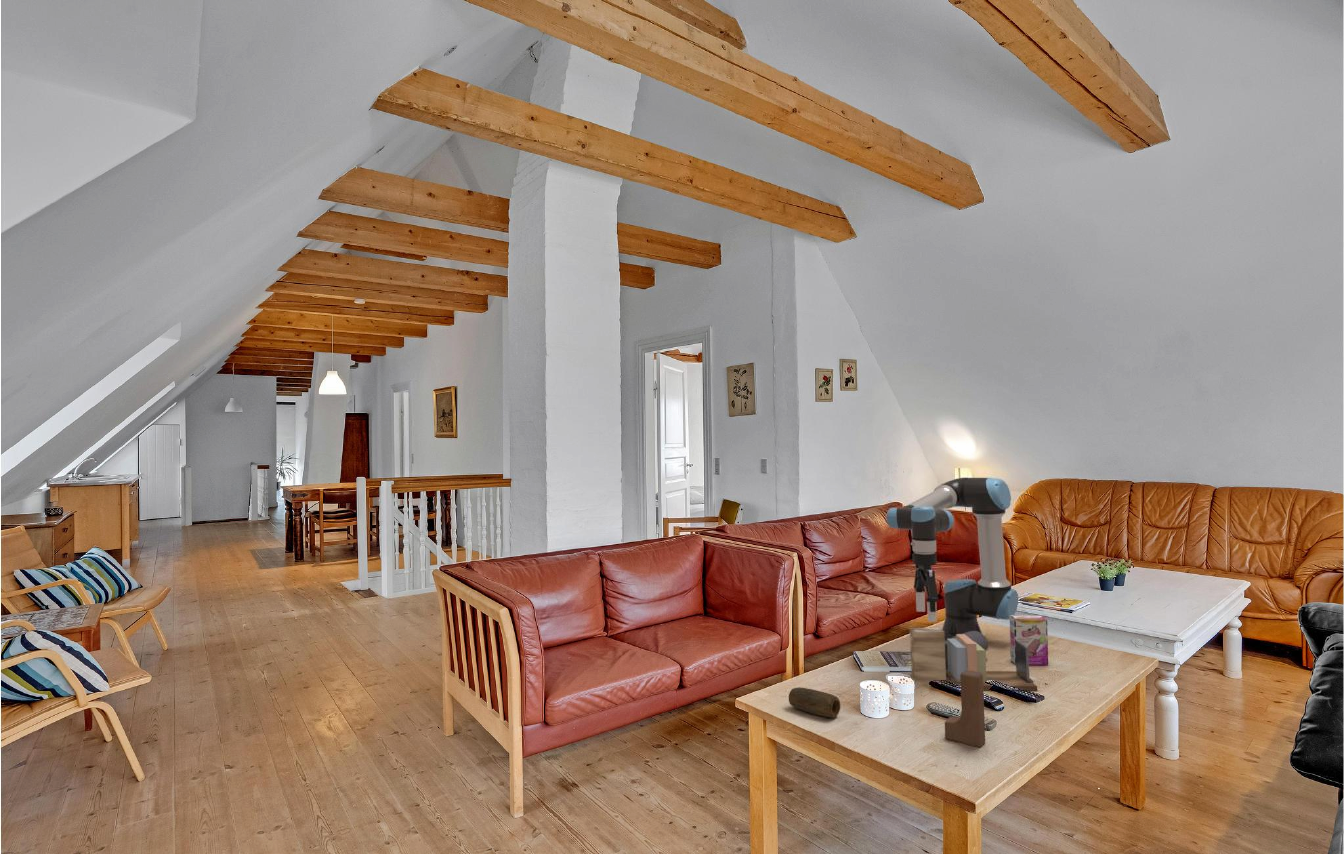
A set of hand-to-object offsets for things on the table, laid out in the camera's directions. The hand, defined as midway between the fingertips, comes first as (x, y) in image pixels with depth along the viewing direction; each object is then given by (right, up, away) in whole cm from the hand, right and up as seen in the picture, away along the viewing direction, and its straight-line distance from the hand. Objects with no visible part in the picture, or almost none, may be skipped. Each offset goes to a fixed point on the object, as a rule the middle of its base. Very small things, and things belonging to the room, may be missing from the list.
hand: (926, 616), depth 223 cm
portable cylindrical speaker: (-43, -21, -27) cm, 55 cm away
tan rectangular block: (0, -21, -1) cm, 21 cm away
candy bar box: (+41, -20, +12) cm, 47 cm away
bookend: (+29, -18, -7) cm, 35 cm away
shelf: (+18, -20, -6) cm, 27 cm away
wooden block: (-8, -19, -48) cm, 52 cm away
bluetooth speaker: (+18, -21, +13) cm, 30 cm away
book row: (+11, -18, -5) cm, 22 cm away
